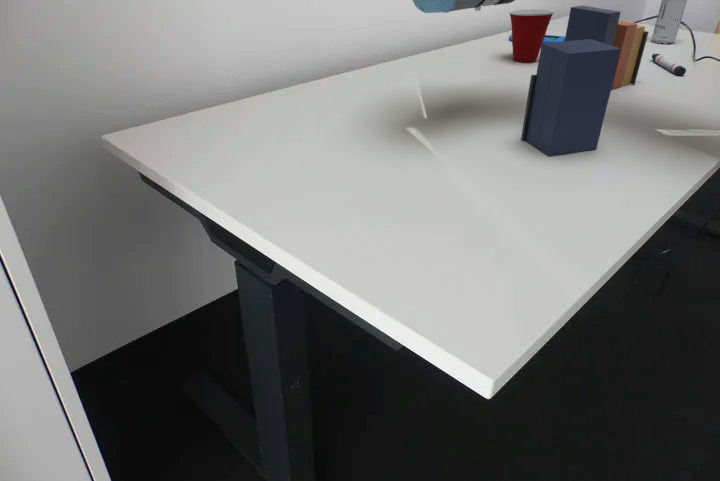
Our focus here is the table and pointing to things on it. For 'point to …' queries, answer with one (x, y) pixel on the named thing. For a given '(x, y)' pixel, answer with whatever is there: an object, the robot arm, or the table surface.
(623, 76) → the terracotta books
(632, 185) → the table surface
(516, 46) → the plastic cup
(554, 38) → the handheld gaming device
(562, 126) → the navy books
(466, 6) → the robot arm
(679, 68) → the marker
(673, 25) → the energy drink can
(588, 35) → the navy book
